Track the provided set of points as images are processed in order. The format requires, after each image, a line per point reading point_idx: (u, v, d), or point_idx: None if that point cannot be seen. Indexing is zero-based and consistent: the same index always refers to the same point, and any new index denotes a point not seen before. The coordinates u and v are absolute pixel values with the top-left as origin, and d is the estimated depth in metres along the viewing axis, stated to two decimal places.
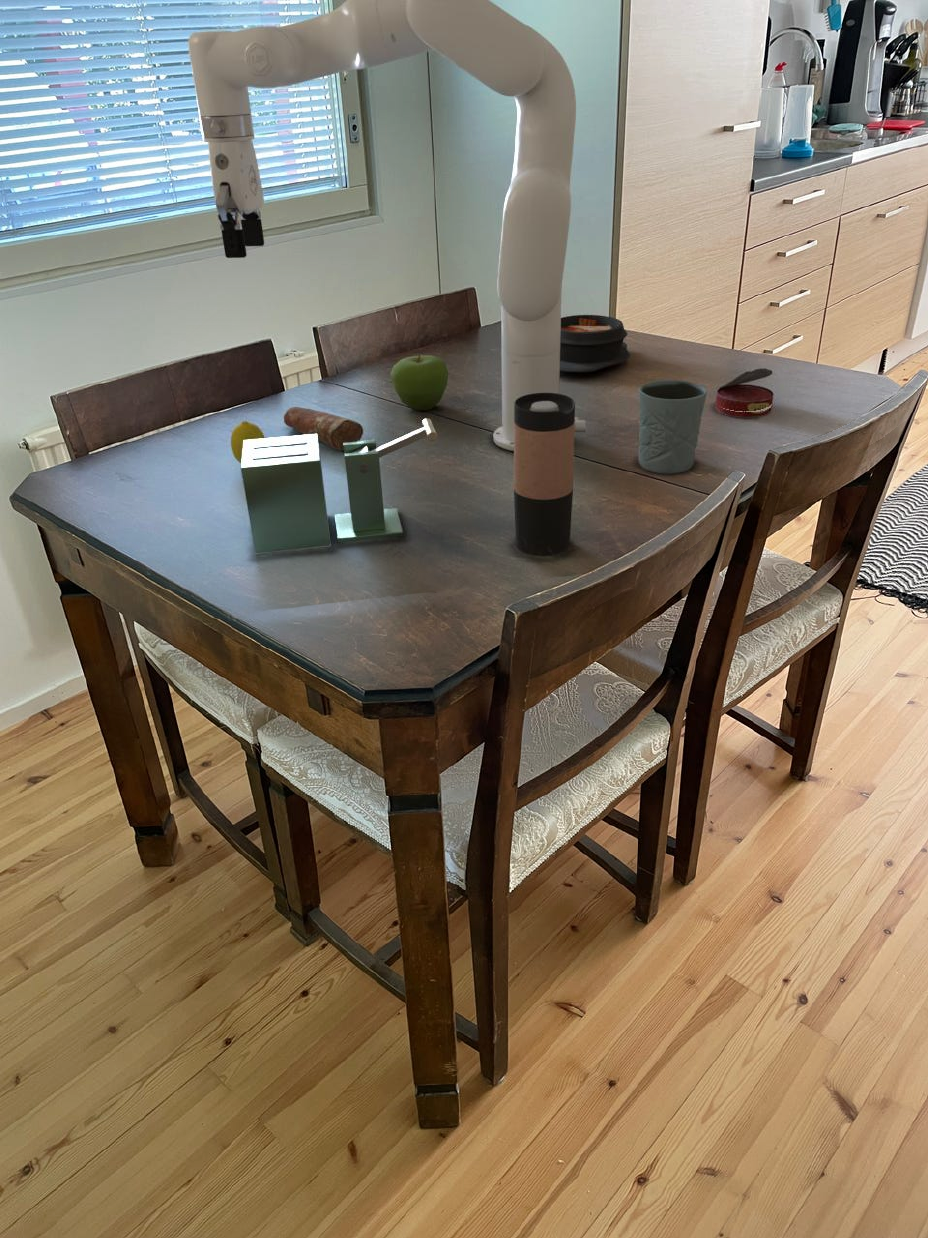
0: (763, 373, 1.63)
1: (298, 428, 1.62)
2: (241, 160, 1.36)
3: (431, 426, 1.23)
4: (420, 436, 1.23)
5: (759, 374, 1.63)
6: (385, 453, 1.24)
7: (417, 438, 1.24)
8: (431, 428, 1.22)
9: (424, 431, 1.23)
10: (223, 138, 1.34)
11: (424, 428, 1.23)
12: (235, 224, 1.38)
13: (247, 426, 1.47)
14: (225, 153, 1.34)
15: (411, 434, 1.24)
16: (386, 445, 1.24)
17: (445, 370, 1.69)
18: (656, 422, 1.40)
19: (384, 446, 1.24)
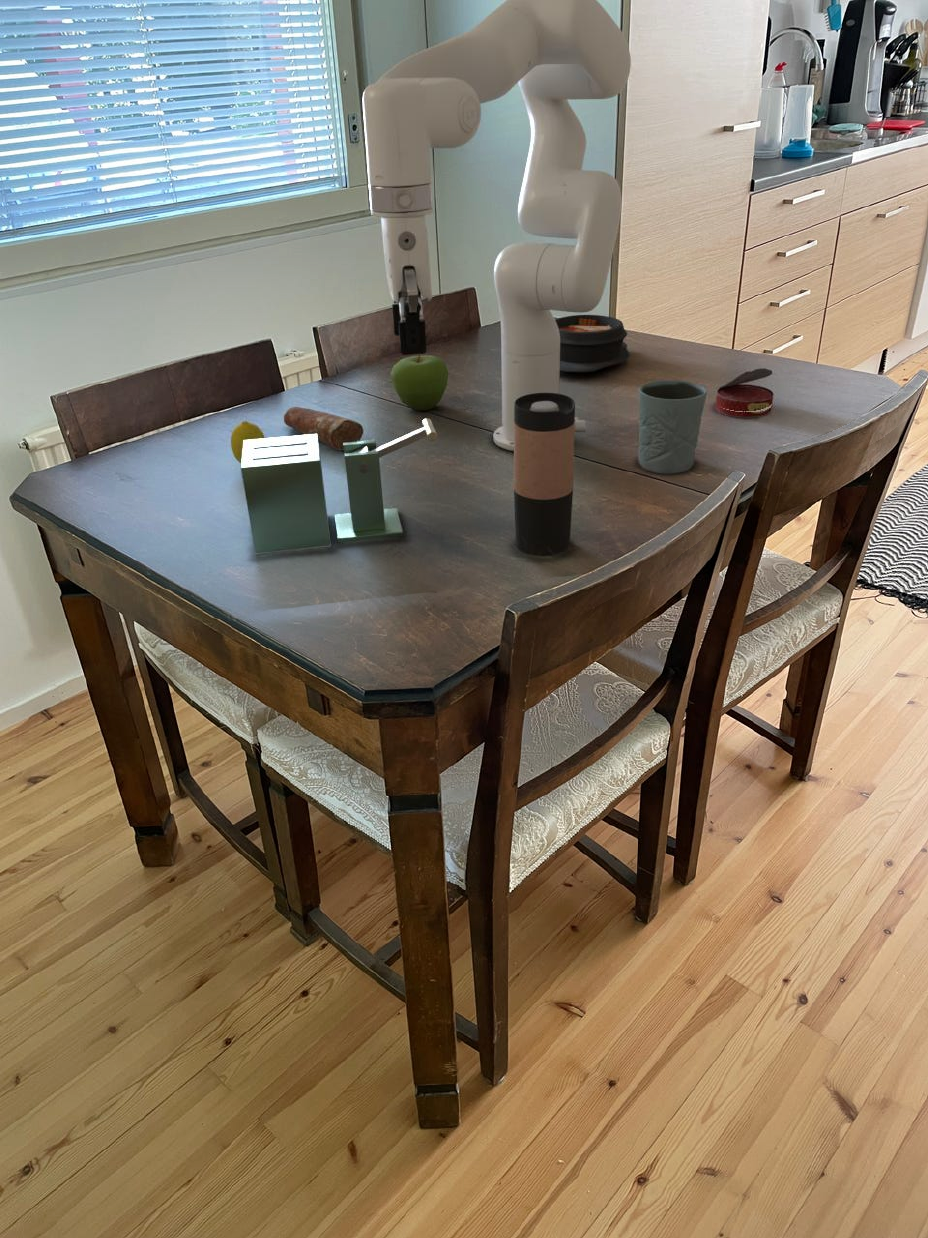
0: (763, 373, 1.63)
1: (298, 428, 1.62)
2: (427, 238, 1.11)
3: (431, 426, 1.23)
4: (420, 436, 1.23)
5: (759, 374, 1.63)
6: (385, 453, 1.24)
7: (417, 438, 1.24)
8: (431, 428, 1.22)
9: (424, 431, 1.23)
10: (408, 213, 1.09)
11: (424, 428, 1.23)
12: (421, 315, 1.12)
13: (247, 426, 1.47)
14: (412, 231, 1.09)
15: (411, 434, 1.24)
16: (386, 445, 1.24)
17: (445, 370, 1.69)
18: (656, 422, 1.40)
19: (384, 446, 1.24)
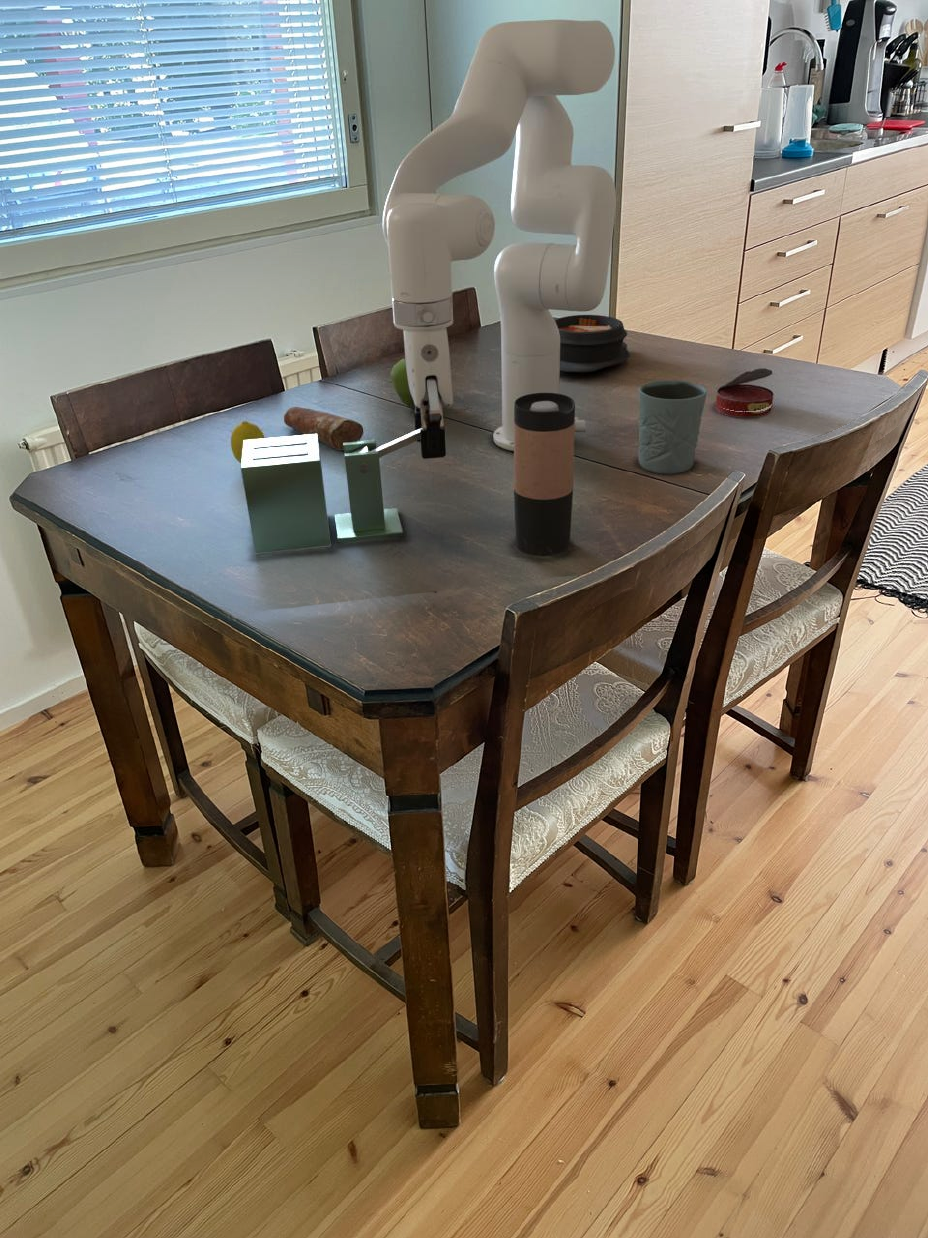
0: (763, 373, 1.63)
1: (298, 428, 1.62)
2: None
3: None
4: None
5: (759, 374, 1.63)
6: (385, 453, 1.24)
7: (417, 438, 1.24)
8: None
9: None
10: (430, 326, 1.13)
11: None
12: (441, 426, 1.19)
13: (247, 426, 1.47)
14: (435, 344, 1.13)
15: (411, 434, 1.24)
16: (386, 445, 1.24)
17: None
18: (656, 422, 1.40)
19: (384, 446, 1.24)
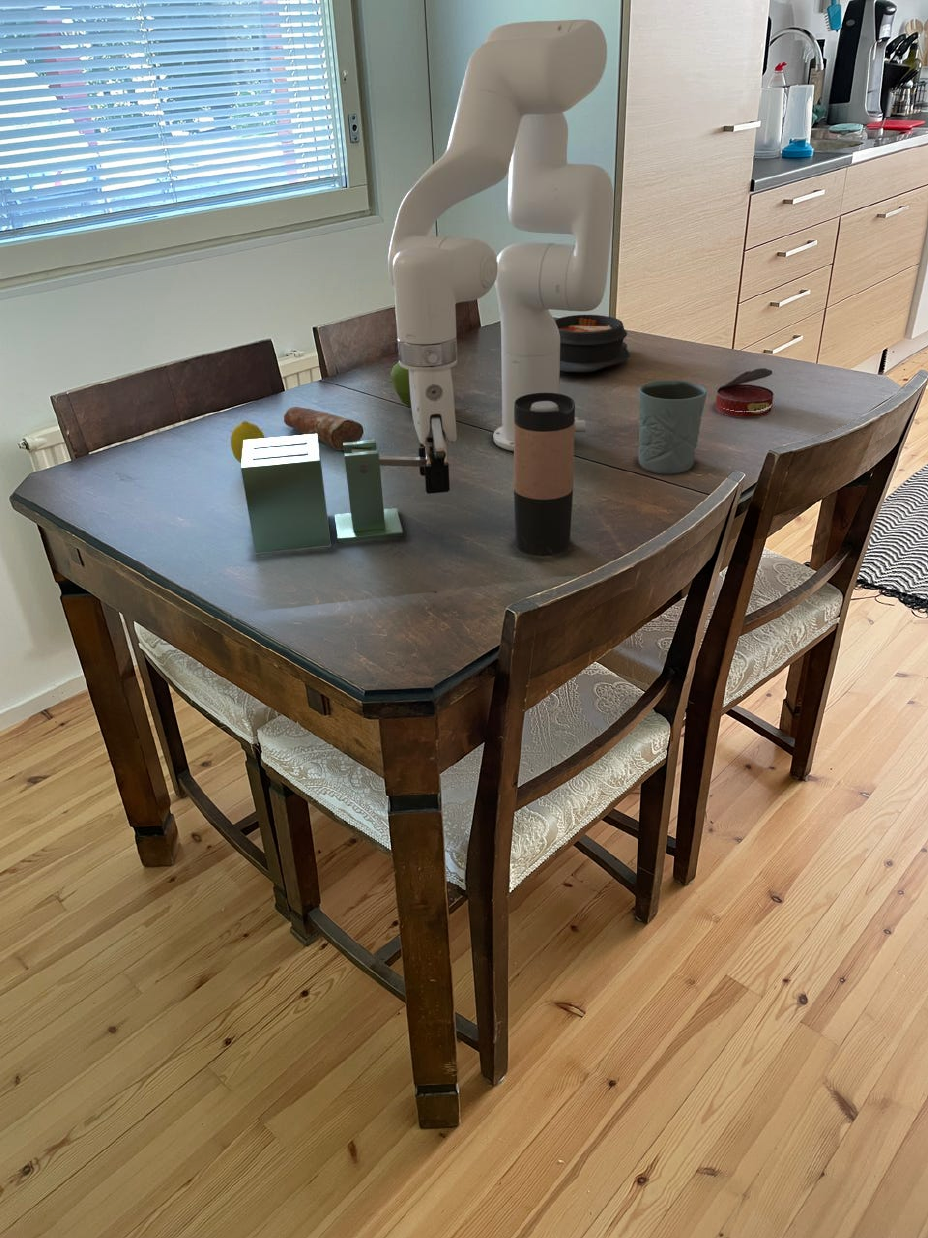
0: (763, 373, 1.63)
1: (298, 428, 1.62)
2: None
3: None
4: (424, 464, 1.26)
5: (759, 374, 1.63)
6: (386, 464, 1.25)
7: (421, 464, 1.26)
8: None
9: None
10: (435, 367, 1.16)
11: None
12: (445, 462, 1.22)
13: (247, 426, 1.47)
14: (439, 384, 1.16)
15: (417, 458, 1.25)
16: (390, 457, 1.25)
17: None
18: (656, 422, 1.40)
19: (388, 457, 1.25)
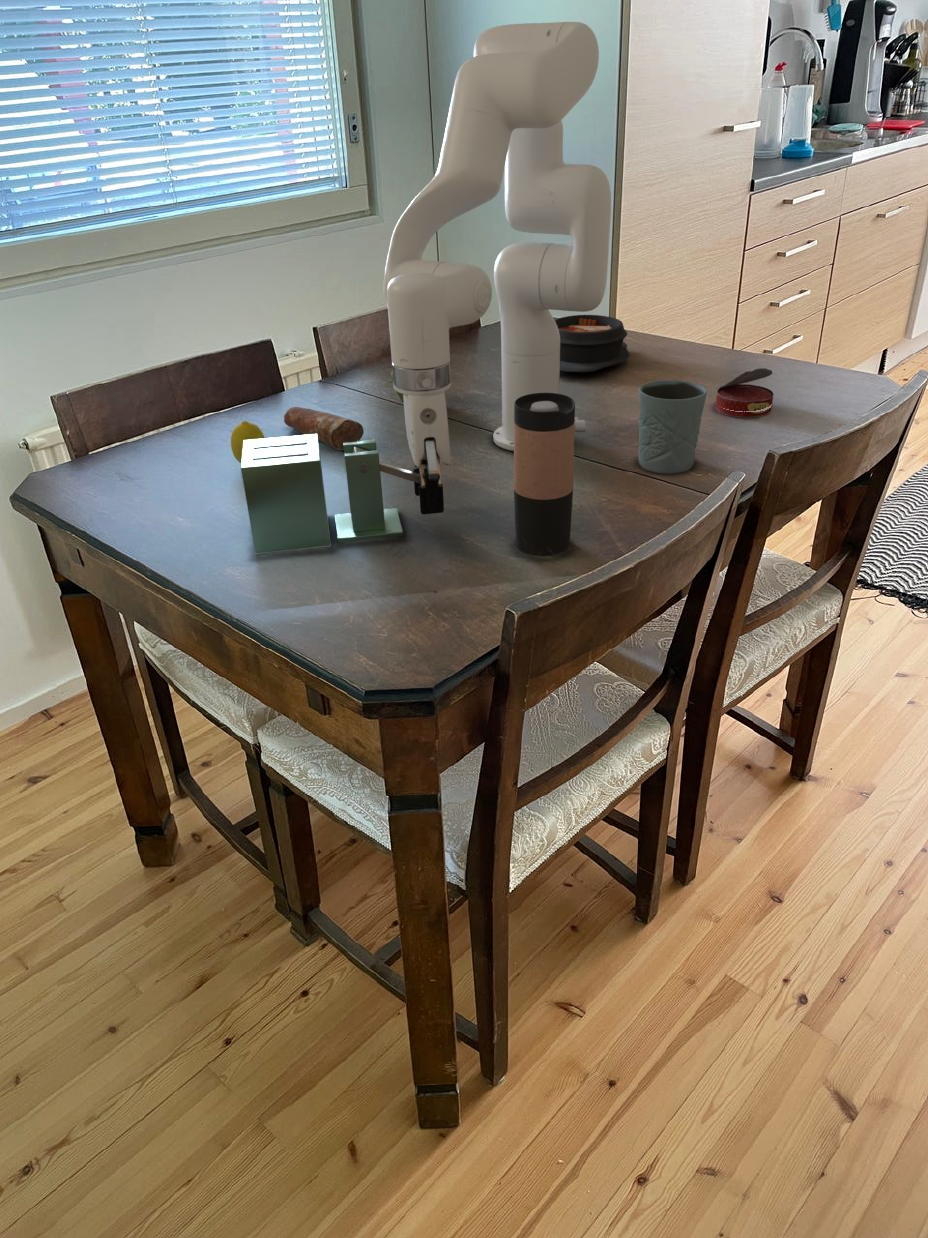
0: (763, 373, 1.63)
1: (298, 428, 1.62)
2: None
3: None
4: (420, 481, 1.27)
5: (759, 374, 1.63)
6: (384, 471, 1.25)
7: (417, 480, 1.27)
8: None
9: None
10: (429, 391, 1.17)
11: None
12: (439, 484, 1.23)
13: (247, 426, 1.47)
14: (433, 407, 1.17)
15: (415, 474, 1.27)
16: (390, 465, 1.25)
17: None
18: (656, 422, 1.40)
19: (388, 465, 1.25)
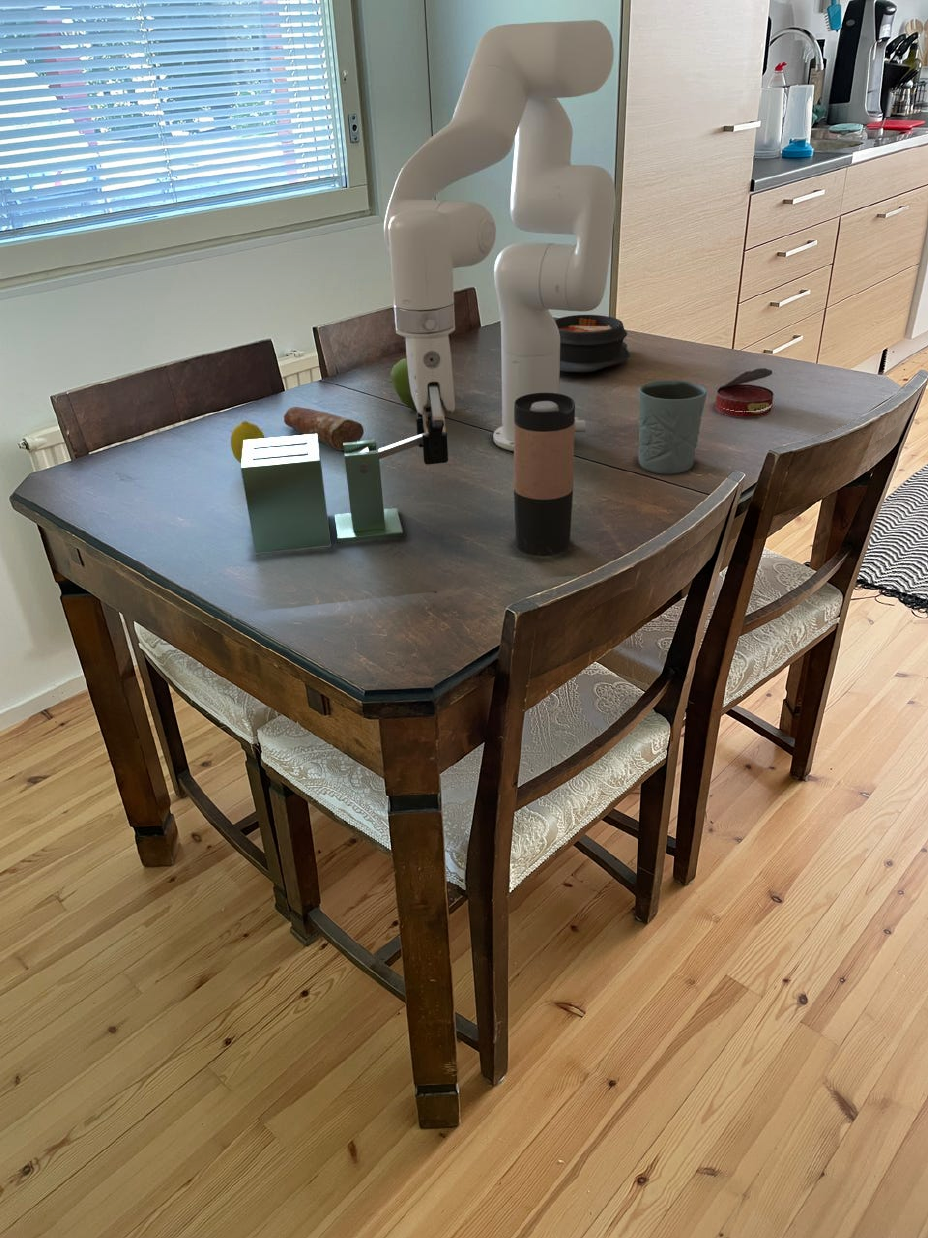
0: (763, 373, 1.63)
1: (298, 428, 1.62)
2: None
3: None
4: (422, 441, 1.24)
5: (759, 374, 1.63)
6: (386, 455, 1.24)
7: (419, 442, 1.24)
8: None
9: None
10: (432, 333, 1.14)
11: None
12: (443, 432, 1.20)
13: (247, 426, 1.47)
14: (437, 350, 1.14)
15: (413, 438, 1.24)
16: (387, 447, 1.24)
17: None
18: (656, 422, 1.40)
19: (385, 448, 1.24)
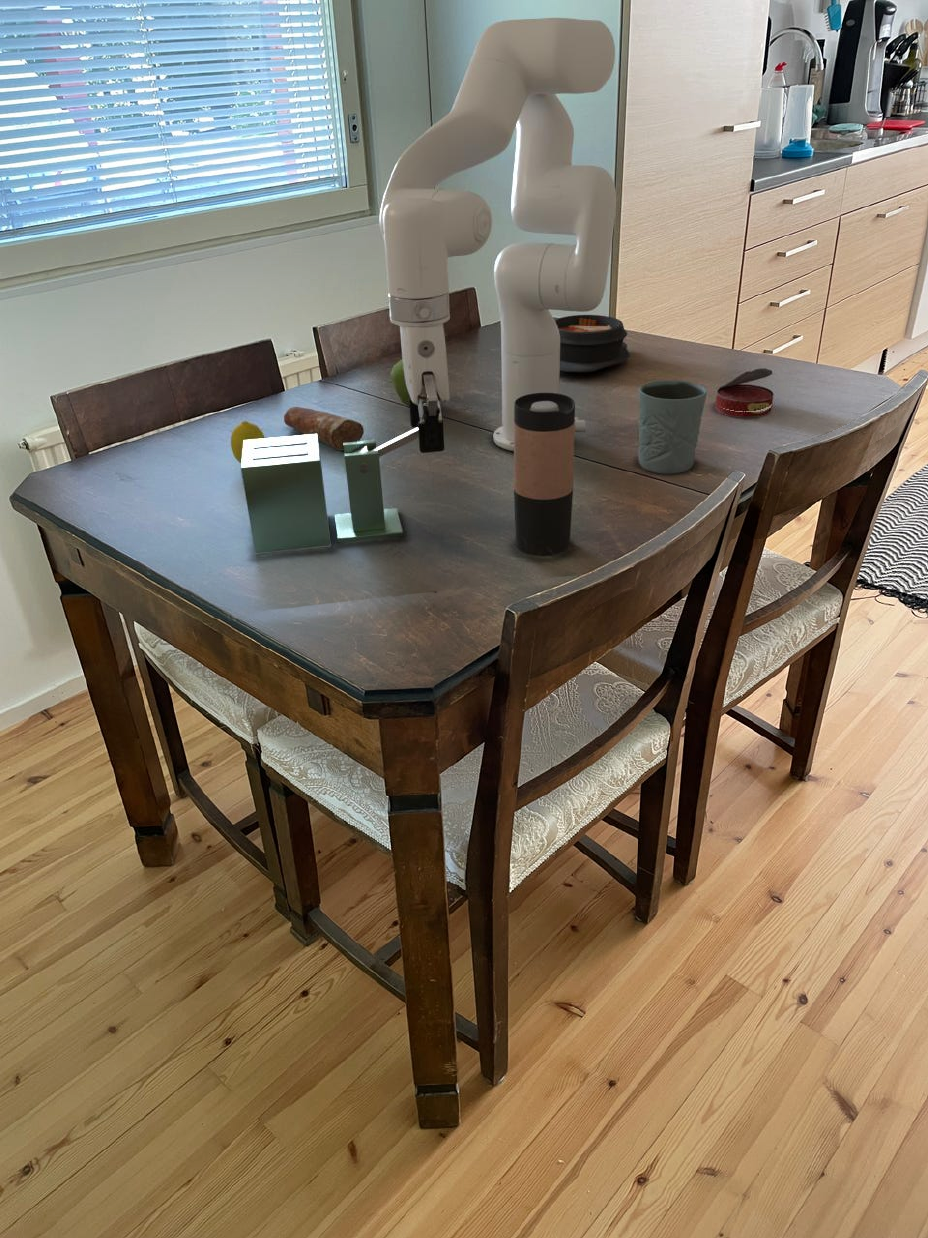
0: (763, 373, 1.63)
1: (298, 428, 1.62)
2: (445, 344, 1.15)
3: None
4: None
5: (759, 374, 1.63)
6: (385, 452, 1.24)
7: (416, 436, 1.23)
8: None
9: None
10: (427, 322, 1.13)
11: None
12: (439, 417, 1.17)
13: (247, 426, 1.47)
14: (431, 340, 1.13)
15: (410, 432, 1.23)
16: (385, 444, 1.24)
17: None
18: (656, 422, 1.40)
19: (383, 445, 1.24)
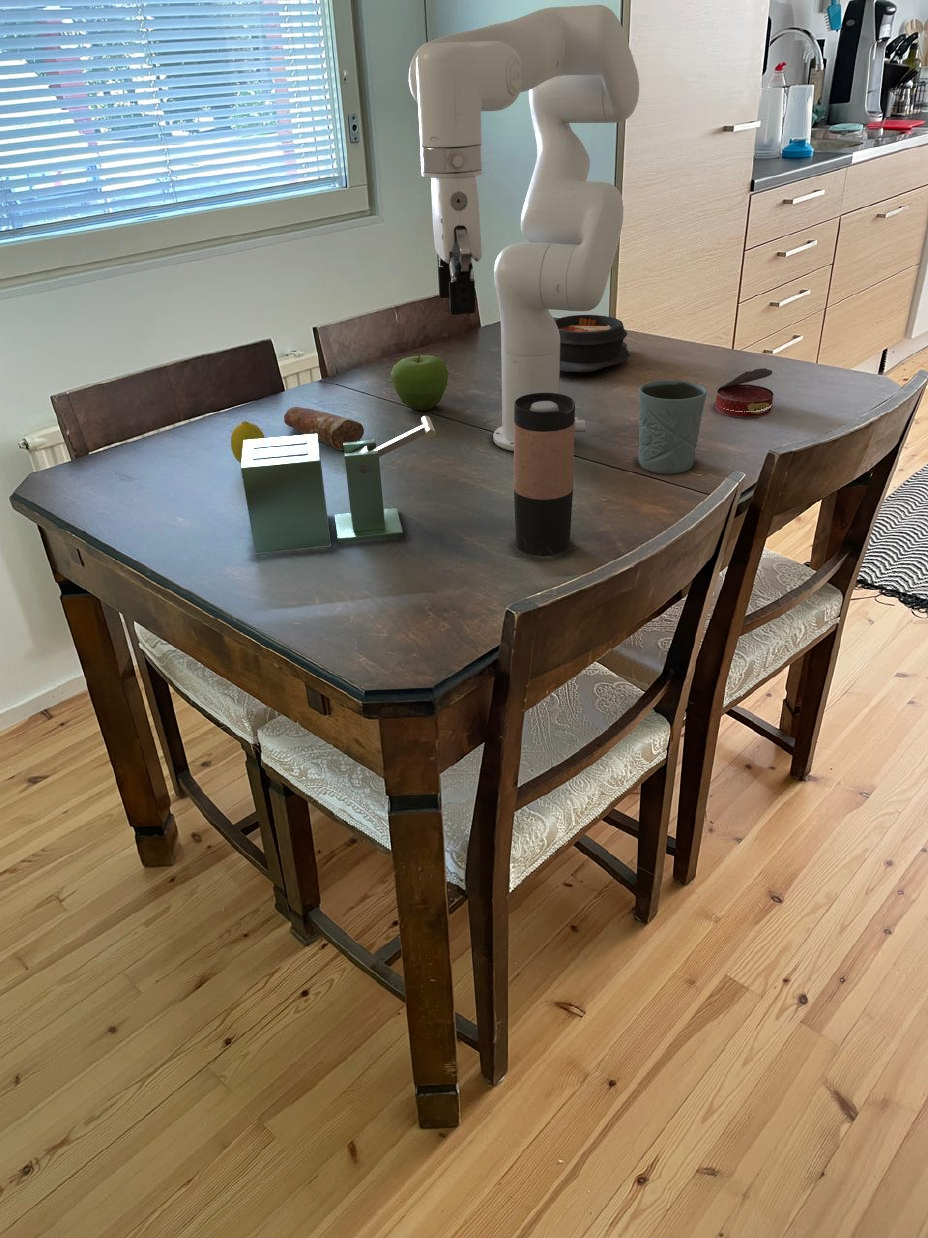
0: (763, 373, 1.63)
1: (298, 428, 1.62)
2: None
3: (430, 423, 1.23)
4: (419, 434, 1.23)
5: (759, 374, 1.63)
6: (385, 452, 1.24)
7: (416, 436, 1.23)
8: (430, 425, 1.22)
9: (423, 429, 1.23)
10: (460, 173, 1.11)
11: (423, 426, 1.23)
12: (471, 275, 1.15)
13: (247, 426, 1.47)
14: (464, 191, 1.11)
15: (410, 432, 1.23)
16: (385, 444, 1.24)
17: (445, 370, 1.69)
18: (656, 422, 1.40)
19: (383, 445, 1.24)
